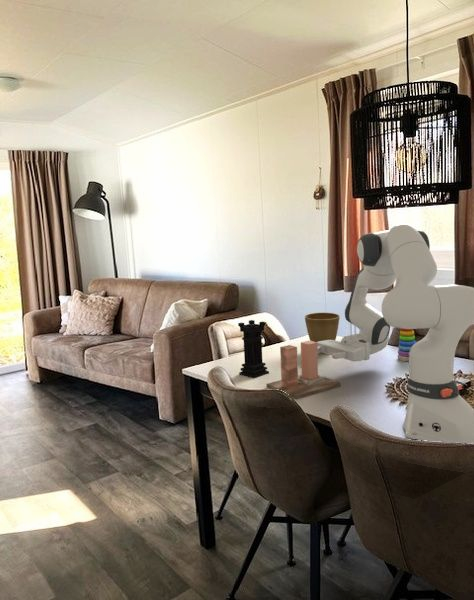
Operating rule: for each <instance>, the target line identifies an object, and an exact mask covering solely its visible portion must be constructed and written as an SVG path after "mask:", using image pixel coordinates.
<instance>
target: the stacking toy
mask: <svg viewBox="0 0 474 600" xmlns="http://www.w3.org/2000/svg"><path fill="white" fill-rule="evenodd" d="M399 329H400V331H399V338H398V339H399V341H398V344H399V345H398V350H397V357H396V358H397V359H398V360H399V361H402V362H409V352H410V350H411V348H412V346H413V345H414V344H415V343H417V340H415V339H416V336H415V331H414V329H403V328H399Z"/></svg>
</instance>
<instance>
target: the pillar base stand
mask: <svg viewBox="0 0 474 600" xmlns="http://www.w3.org/2000/svg"><path fill="white" fill-rule="evenodd" d="M279 348H280V352H279V353H280V374H281V375H280V377H281V379H279V380H276V381H272V382H269V383H266V388H269V389H270V390H273V389H279V390H282V391H284V392H286V393H287V394H289V395H290V396H291V397H290V396H289V397H290V398H293V399H295V400H298V399H300V398H305V397H307V396H310V395H314V394H316V393H317V394H319V393H320V392H324V391H328V390H331V389H334V388H338V387H341V386H342V383H341V381H338V380H334V379H331V378H328V377H326V376H325V377H324V376H322V375H319V374H318V379H314V380H311V381H308V380H305V379H302V374H299V372H298V371H299V367H298V365H299V364H298V346H295V345H291V344H288V345H282V346H280V347H279Z"/></svg>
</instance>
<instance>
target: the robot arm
mask: <svg viewBox="0 0 474 600" xmlns="http://www.w3.org/2000/svg"><path fill="white" fill-rule="evenodd" d="M430 245H431V244H430V239H429V236H428V235H427V233H426V232H425V231H424V230H420V229H416V228H415V226H414V225H411V224H410V223H399V224H396V225H394V226H392V227H391V228H390V229H388V230H382V231H377V232H368V233H366V234H363V235H361V236H360V238H359V239H358V241H357V246H356V252H357V256H358V257H357V258H358V259H359V261H360V263H361V265H363V266H364V267H363V268H361V269H360V270H359V271H358V272H357V274H356V277H355V279H354V283H353V285H352V286H353V287H352V290H351V292H350V293H351V294H350V297H349V300H348V302H347V304H346V307H345V309H344V317H345V320H346V321H347V322H348V323H350V324H352V326H355V328H357V329H359V330H360V332H359V333H353V334H349V335H345V336H344V337H342V338H341V340H340V341H339V340H324V341H318V342H317V355H318V354H319V353H320V352H321V353H325V354H324V355H329V356H331V358H332V359H335V360H338V359H343V360H347V361H351V362H362V361H369V360H370V357H371V356H370V355H375V354H377V353H379V352H380V351H383V350H384V349H385V348H386V347H387V346H388V342H389V338H388V336H389V334H390V331H391V327H392V328H397V329H400V328H403V329H413V330H418V329H429V330H428V332H427V333H426V334H425V336H424V337H423V338H422V339H420V340H418V341H416V343H415V344H414V345H413V346H412V348H411V350H410V352H409V361H408V364H409V365H408V370H409V373H408V374H409V375H408V376H407V383H406V384H407V387H406V390H407V392H408V397H407V399H408V400H407V407H406V412H405V417H404V421H403V423H402V428H403V430H404V431H405V437H406V438H409V439H413V440H415V439H418V440H417V441H419V440H427V441H441V442H459V443H473V444H474V408H473V406H471V404H470V403H468V402H467V401H466V399H464V398H463V396H461V395H460V390H462V389H463V386H464V385H463V384H459V385H457V383H456V379H455V378H454V365H455V355H456V349H457V347H458V344H459V341H460V340H461V338H462V337H463V335H464V333H465V332H466V331H467V329H469V327H470V326H471V325H473V324H474V287H473V286H467V285H462V284H461V285H460V284H443V285H442V284H441V285H429V284H430V283H432V282H433V280H434V279H435V277H436V276H437V273H438V266H437V263H436V261H435V258H434V256H433V254H432V253H431V249H430V247H431V246H430ZM394 283H395V284H394ZM393 284H394V287H393V288H392V289H391V290H389V291H387V293H386V294H385V295H384V297H383V299H382V302H381V311H379V310H378V309H376V308H374V307H373V306H371V304H369V302H368V301H367V299H366V298H367V294H368V292H369V289H370V290H375V291H377V290H385V289H387V288H390V287H391V286H392V285H393ZM319 355H320V354H319Z"/></svg>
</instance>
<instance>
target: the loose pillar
mask: <svg viewBox="0 0 474 600" xmlns="http://www.w3.org/2000/svg"><path fill="white" fill-rule="evenodd" d="M300 358H301V361H300V364H301V365H300V367H301V375H302V379H305V380H308V381H311V380H314V379H318V375H319V369H318V368H319V365H318V364H319V363H318V358H319V357H318V354H317V342H313V341H310V340H306V341H301V342H300Z"/></svg>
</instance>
